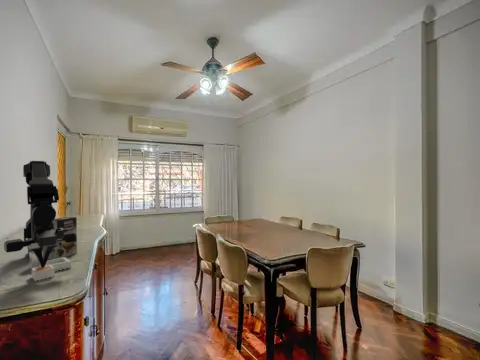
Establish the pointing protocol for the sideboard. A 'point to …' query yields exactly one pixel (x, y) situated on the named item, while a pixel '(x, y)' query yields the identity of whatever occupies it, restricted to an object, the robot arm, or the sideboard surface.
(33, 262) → the billet
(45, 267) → the button
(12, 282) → the sideboard surface
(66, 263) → the white square tray
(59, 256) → the coffee box
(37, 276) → the button housing
